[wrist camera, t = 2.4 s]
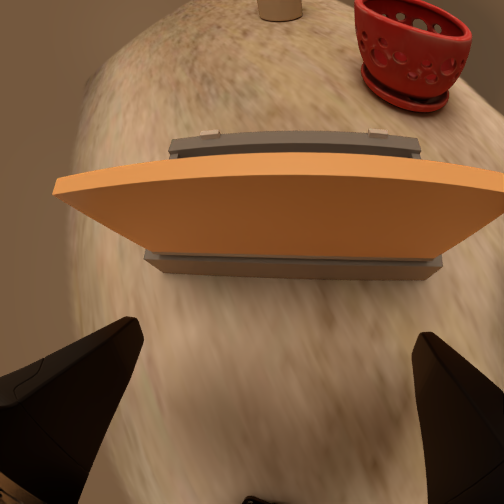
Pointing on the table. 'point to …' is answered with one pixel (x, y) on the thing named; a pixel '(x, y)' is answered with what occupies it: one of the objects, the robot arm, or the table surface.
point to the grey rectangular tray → (295, 267)
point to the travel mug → (279, 9)
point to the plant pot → (410, 52)
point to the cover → (290, 205)
